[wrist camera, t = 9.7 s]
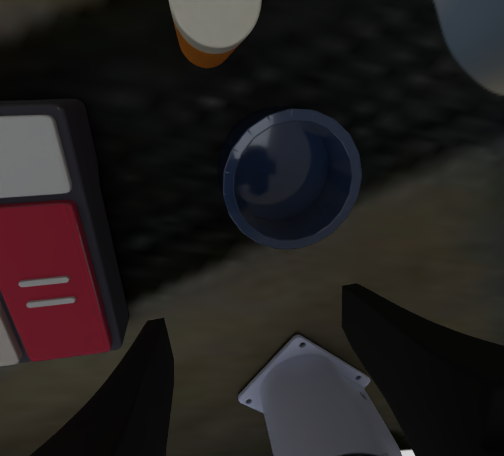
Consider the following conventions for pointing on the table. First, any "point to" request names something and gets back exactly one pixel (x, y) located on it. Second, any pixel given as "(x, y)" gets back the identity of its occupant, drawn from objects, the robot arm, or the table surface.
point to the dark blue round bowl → (289, 176)
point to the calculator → (54, 237)
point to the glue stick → (212, 27)
